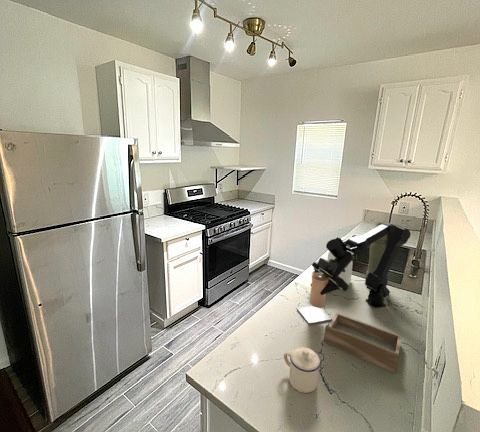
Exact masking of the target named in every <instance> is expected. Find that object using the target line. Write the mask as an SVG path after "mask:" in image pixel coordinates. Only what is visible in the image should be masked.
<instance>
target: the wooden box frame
mask: <svg viewBox="0 0 480 432" xmlns="http://www.w3.org/2000/svg"><path fill="white" fill-rule="evenodd" d="M338 324H339V325H342V326H345V327H348V328H351V329H353V330H354V331H355V330H356V331H358V332H360V333H363V334H365V335H369V336H371V337H373V338H376V339H379V340H381V341H384V342H388V343H389V344H392V345H394V346H395V350H391V349H389V348H386V347H382V346H381V345H377V344H375V343H373V342H370V341H368V340H365V339H363V338H360V337H358V336H354V335H352V334H350V333H348V332H345V331H343V330H340V329H339V328H336V326H337V325H338ZM401 342H402V335H401V334H397V333H394V332H392V331H388V330H387V329H383V328H380V327H378V326H375V325H372V324H369V323H367V322H364V321H361V320H358V319H355V318H354V317H353V318H352V317H350V316H347V315H345V314H343V313H342V314H341V313H339V312H336V313H335V315H334V316H333V318H332V321H330V323H329V325H327V324H326V325H325V328H324V336H323V343H325V344H327V345H329V346H332V347H333V348H336V349H338V350H341V351H343V352H345V353H348V354H350V355H353V356H354V357H357V358H360V359H362V360H364V361H367V362H369V363H371V364H374V365H375V366H378V367H380V368H382V369H384V370H388V371H390V372H391V373H395V374H396V371H397V366H398V362H399V357H400V347H401Z"/></svg>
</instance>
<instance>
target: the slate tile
mask: <svg viewBox="0 0 480 432" xmlns="http://www.w3.org/2000/svg"><path fill="white" fill-rule="evenodd" d="M296 310H297V312H298V313H299V314H300V316H302V318H303V319H304V320H305V322H306V323H308V326H309V325H310V326H311V325H315V324H321V323H324V322H325V323H326V322H332V320H333V318H332V317H331V316H330V315H329V314H328V313H327V312H326V311H325V310H324V309H323V307H322V308H317V307H314V306H312V305H307V306H301V307H297V308H296Z"/></svg>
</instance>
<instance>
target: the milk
mask: <svg viewBox="0 0 480 432" xmlns="http://www.w3.org/2000/svg"><path fill="white" fill-rule="evenodd" d="M340 239H341V240H342V241H346V240H347V239H346V237H345V236H342V237H341V238H340ZM347 251H348V250H347ZM348 252H350V251H348ZM350 253H351V254H353V255H355V254H354V253H352V252H350ZM335 258H336V257H334V256H333V255H332V254H331V252H330V251H329V250H328V255H327V259H326V260H327V261H329V260H330V259H333V260H334V259H335ZM353 263H354V262H353V261H351V262H350V263H349V264H348V266H347V267H346V268H345V269H344V270H345V272H341V274H340V275H339V277H340V278H342V279H343V280H344V281H345V282H346V283H347V284H348V285H350V283H352V274H353V273H352V272H353V265H354V264H353ZM340 290H342V289H341V288H340Z"/></svg>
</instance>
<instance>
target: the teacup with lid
mask: <svg viewBox="0 0 480 432" xmlns="http://www.w3.org/2000/svg"><path fill="white" fill-rule="evenodd" d="M288 356H289V359H290V360H289V359H288ZM283 360H284V362H285V364H286V365H287V366H288V367H289V374H288V375H289V377H288V380H289V383H290V385H291V387H292V388H294V390H296V391H298V392H300V393H304V394H308V393H312V392H314V391H315V390H316V389H317V386H318V380H319V379H318V378H319V369H320V366H321V360H320V357H319V355H318V354H317V353H316V352H315V351H314V350H312V349H310V348H307V347H303V346H301V347H296V348H294V349H293V350H292V351H286V352H284V354H283Z"/></svg>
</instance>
